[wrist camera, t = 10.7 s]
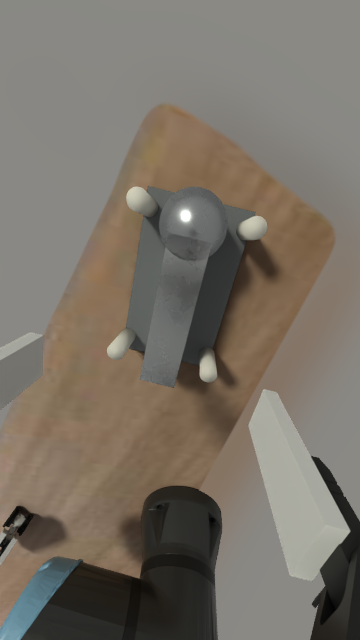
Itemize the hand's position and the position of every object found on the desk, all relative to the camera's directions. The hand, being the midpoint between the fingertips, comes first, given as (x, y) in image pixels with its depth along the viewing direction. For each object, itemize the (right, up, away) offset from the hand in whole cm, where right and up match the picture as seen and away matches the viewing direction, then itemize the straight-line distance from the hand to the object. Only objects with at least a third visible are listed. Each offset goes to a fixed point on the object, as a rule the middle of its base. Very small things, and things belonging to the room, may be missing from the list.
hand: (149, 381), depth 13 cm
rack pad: (+2, +8, +15) cm, 17 cm away
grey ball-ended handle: (+2, +7, +14) cm, 16 cm away
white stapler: (-36, -44, +35) cm, 67 cm away
